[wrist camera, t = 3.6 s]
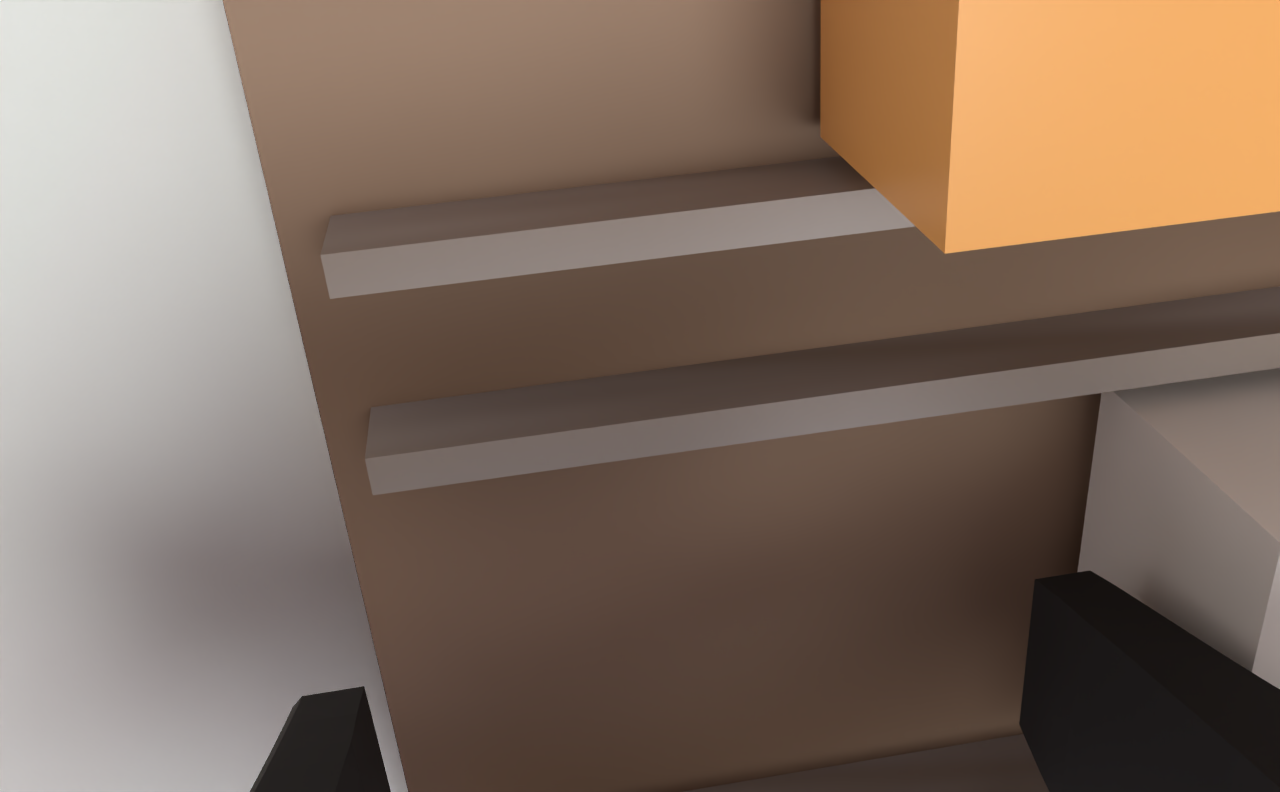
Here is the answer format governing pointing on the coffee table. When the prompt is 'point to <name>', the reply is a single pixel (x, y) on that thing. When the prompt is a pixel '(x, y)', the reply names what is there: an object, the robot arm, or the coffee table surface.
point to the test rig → (690, 396)
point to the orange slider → (1055, 112)
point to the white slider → (1194, 509)
